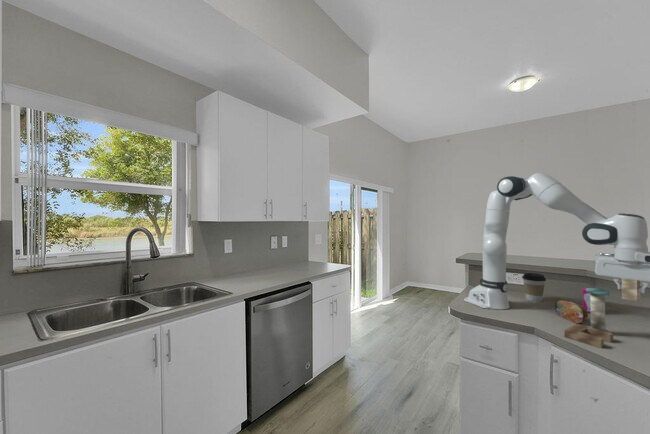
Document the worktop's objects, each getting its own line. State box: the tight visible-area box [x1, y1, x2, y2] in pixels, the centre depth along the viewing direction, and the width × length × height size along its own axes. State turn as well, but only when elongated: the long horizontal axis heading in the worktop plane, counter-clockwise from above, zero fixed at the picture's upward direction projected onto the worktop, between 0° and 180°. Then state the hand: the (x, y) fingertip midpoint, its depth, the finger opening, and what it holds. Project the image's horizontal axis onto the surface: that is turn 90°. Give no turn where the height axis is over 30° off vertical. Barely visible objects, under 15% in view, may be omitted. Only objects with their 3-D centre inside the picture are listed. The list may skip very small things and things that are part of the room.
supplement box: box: [582, 287, 591, 314], centre depth 142 cm, size 6×6×12 cm
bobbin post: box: [585, 287, 610, 332], centre depth 117 cm, size 7×7×18 cm
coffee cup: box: [521, 272, 547, 303], centre depth 161 cm, size 11×11×15 cm
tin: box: [554, 299, 589, 324], centre depth 131 cm, size 15×3×8 cm, turn 1°
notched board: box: [564, 323, 614, 349], centre depth 111 cm, size 11×12×3 cm
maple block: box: [621, 278, 641, 302], centre depth 107 cm, size 4×4×8 cm
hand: (631, 291), depth 107 cm, fingers closed on maple block, 4 cm apart
